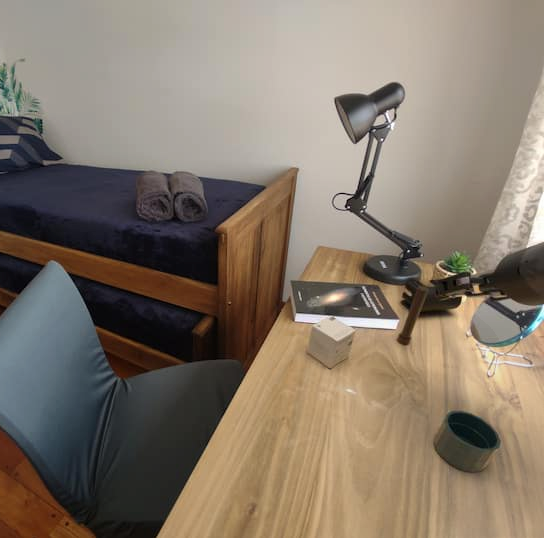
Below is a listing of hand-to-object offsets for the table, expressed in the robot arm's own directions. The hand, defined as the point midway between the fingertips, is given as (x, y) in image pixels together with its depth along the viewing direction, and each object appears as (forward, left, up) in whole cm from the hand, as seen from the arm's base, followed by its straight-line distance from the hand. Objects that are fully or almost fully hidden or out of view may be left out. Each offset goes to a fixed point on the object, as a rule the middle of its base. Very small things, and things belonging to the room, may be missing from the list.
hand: (464, 294), depth 60 cm
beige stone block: (+17, -7, -19) cm, 27 cm away
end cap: (-13, -22, -19) cm, 32 cm away
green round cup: (+4, +15, -19) cm, 25 cm away
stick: (-1, -10, -19) cm, 22 cm away
